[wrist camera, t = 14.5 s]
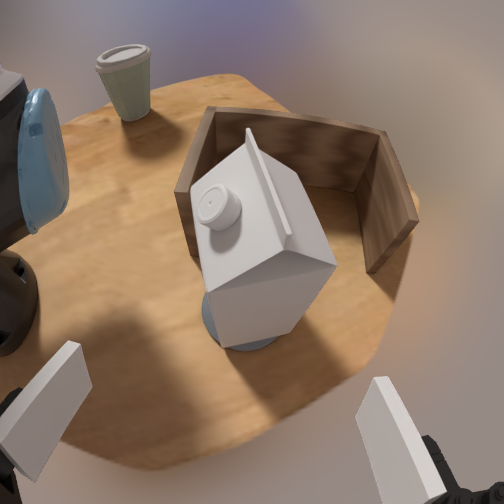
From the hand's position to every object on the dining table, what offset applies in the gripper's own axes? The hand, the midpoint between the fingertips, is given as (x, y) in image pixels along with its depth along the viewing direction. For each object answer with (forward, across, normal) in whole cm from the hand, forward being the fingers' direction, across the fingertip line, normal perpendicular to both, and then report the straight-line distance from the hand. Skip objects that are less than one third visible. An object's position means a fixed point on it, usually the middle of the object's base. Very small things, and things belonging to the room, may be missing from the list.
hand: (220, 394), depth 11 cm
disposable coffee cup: (+45, -25, +20) cm, 55 cm away
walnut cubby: (+27, +5, +4) cm, 28 cm away
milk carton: (+18, +1, -5) cm, 18 cm away
